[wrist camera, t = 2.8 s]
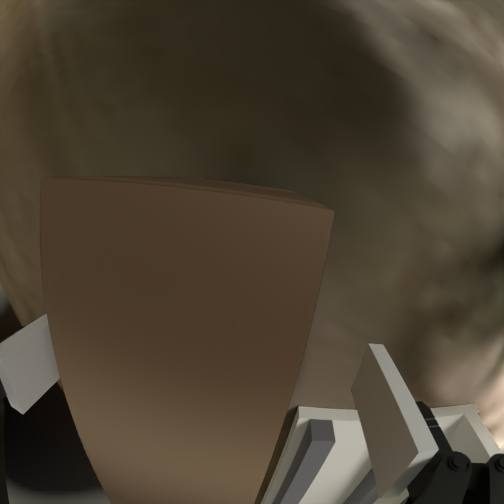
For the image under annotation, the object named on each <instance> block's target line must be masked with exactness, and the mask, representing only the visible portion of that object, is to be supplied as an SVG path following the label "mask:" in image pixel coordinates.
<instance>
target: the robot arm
mask: <svg viewBox="0 0 504 504" xmlns="http://www.w3.org/2000/svg"><path fill="white" fill-rule="evenodd" d="M59 379H60V375H59V371H58V367H57V363H56V359H55V355H54V350H53V345H52V341H51V335H50V330H49V324H48V318H47V313H46V314H45V315H43V316H41V317H40V318H38V319H37V320H35V321H34V322H32V323H30V324H29V325H26V326H23V327H20V328H19V329H17V330H15V331H14V332H12V334H9V335H7V336H6V338H3V339H1V340H0V504H9V500H8V493H7V486H6V475H5V462H4V408H5V405H4V401H3V398H4V397H5V396H6V395H7V397H8V400H9V402H10V404H11V406H12V407H13V408H15V409H16V410H17V411H19V412H21V413H22V414H24V413H25V412H26V411H27V410H28V409H29V408H30V407H31V406H32V405H33V404H34V403H35V402H36V401H37V400H38V399H39V398H40V397H41V396H42V395H43V394H44V393H45V392H46V391H47V390H48V389H49V388H50V387H51V386H53V385H54V384H55V383H56V382H57V381H58V380H59ZM351 391H352V395H353V398H354V402H355V405H356V409H357V412H358V416H359V419H360V423H361V426H362V430H363V434H364V437H365V441H366V445H367V449H368V453H369V457H370V461H371V465H372V469H373V473H374V477H375V481H376V485H377V490H378V494H379V498H380V499H383V498H390V497H397V496H399V495H400V494H401V493H402V492H403V491H404V490H405V489H406V488H407V490H408V493H409V495H408V496H407V497H406V498H405V499H404V500H403V501H402V502H401V503H400V504H504V454H501V453H498V454H495V455H493V456H492V457H491V458H490V459H489V460H488V461H487V463H471V460H470V459H469V458H468V457H467V455H465V454H463V453H461V452H457V451H453V450H452V448H451V446H450V444H449V443H448V441H447V439H446V437H445V435H444V433H443V431H442V429H441V427H439V424H438V422H437V420H435V416H434V415H433V413H432V411H431V409H430V408H429V407H428V406H427V405H425V404H424V403H423V402H422V401H419V402H415V401H414V399H413V397H412V395H411V393H410V391H409V390H408V388H407V386H406V384H405V382H404V380H403V379H402V377H401V375H400V373H399V371H398V370H397V368H396V366H395V364H394V362H393V361H392V359H391V357H390V355H389V354H388V352H387V350H386V349H385V347H384V345H382V344H368V346H367V349H366V352H365V355H364V358H363V360H362V363H361V366H360V368H359V371H358V374H357V376H356V379H355V381H354V384H353V386H352V389H351Z"/></svg>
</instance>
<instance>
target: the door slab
mask: <svg viewBox="0 0 504 504" xmlns="http://www.w3.org/2000/svg"><path fill="white" fill-rule="evenodd" d="M334 214H335V211H334V210H332V209H330V208H328V207H326V206H324V205H322V204H320V203H318V202H316V201H314V200H312V199H309V198H307V197H305V196H303V195H301V194H299V193H297V192H294V191H291V190H285V189H279V188H272V187H266V186H259V185H252V184H244V183H237V182H229V181H221V180H210V179H193V178H171V177H137V176H83V177H51V178H41V194H40V251H41V268H42V279H43V289H44V298H45V305H46V312H47V318H48V324H49V330H50V335H51V341H52V345H53V350H54V355H55V359H56V363H57V367H58V371H59V375H60V379H61V382H62V386H63V389H64V393H65V396H66V399H67V403H68V405H69V409H70V411H71V415H72V417H73V420H74V423H75V426H76V428H77V431H78V434H79V436H80V439H81V441H82V444H83V446H84V449H85V451H86V453H87V456H88V458H89V460H90V462H91V465H92V467H93V469H94V471H95V473H96V475H97V477H98V479H99V481H100V483H101V485H102V487H103V489H104V491H105V493H106V494H107V496H108V498H109V500H110V502H111V504H254V502H255V500H256V497H257V495H258V492H259V490H260V487H261V485H262V482H263V479H264V477H265V474H266V471H267V469H268V466H269V463H270V460H271V458H272V455H273V452H274V449H275V446H276V443H277V440H278V437H279V434H280V431H281V428H282V425H283V422H284V419H285V416H286V413H287V410H288V406H289V403H290V400H291V397H292V393H293V390H294V387H295V383H296V380H297V376H298V373H299V369H300V366H301V362H302V358H303V355H304V351H305V347H306V343H307V339H308V335H309V332H310V328H311V324H312V319H313V315H314V311H315V307H316V303H317V298H318V294H319V290H320V285H321V280H322V276H323V271H324V266H325V262H326V257H327V252H328V246H329V241H330V236H331V231H332V225H333V220H334Z"/></svg>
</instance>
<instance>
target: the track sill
mask: <svg viewBox="0 0 504 504" xmlns="http://www.w3.org/2000/svg"><path fill="white" fill-rule="evenodd" d="M430 409H431V411H432V413H433V415H434V416H435V420H437V422H438V424H439V427H441V429H442V431H443V433H444V435H445V437H446V439H447V441H448V443H449V444H450V446H451V448H452V450H453V451H457V452H461V453H463V454H465V455H467V457H468V458H469V459H470V460H471V463H487V461H488V460H489V459H490V458H491V457H492V456H493V455H495V454H498V453H501V454H503V453H502V452H501V450H500V448H499V447H498V445H497V444H496V442H495V440H494V439H493V437H492V436H491V434H490V433H489V431H488V429H487V428H486V426H485V425H484V423H483V422H482V420H481V419H480V417H479V416H478V413H479V412H480V411H479V410H478V408H477V407H476V405H475V404H474V403H472V404H465V405H457V406H448V407H437V408H430ZM408 495H409V493H408V490H407V488H406V489H405V490H404V491H403V492H402V493H401V494H400V495H399V496H397V497H390V498H383V499H380V498H379V494H378V490H377V485H376V481H375V477H374V473H373V469H372V465H371V461H370V457H369V453H368V449H367V445H366V441H365V437H364V434H363V430H362V426H361V423H360V419H359V416H358V412H357V410H348V409H329V408H315V407H304V406H298V409H297V412H296V415H295V418H294V421H293V424H292V427H291V429H290V432H289V435H288V438H287V440H286V443H285V446H284V448H283V451H282V454H281V456H280V459H279V461H278V464H277V466H276V469H275V471H274V474H273V476H272V479H271V481H270V483H269V486H268V488H267V490H266V493H265V495H264V497H263V500H262V502H261V504H400V503H401V502H402V501H403V500H404V499H405V498H406V497H407V496H408Z"/></svg>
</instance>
